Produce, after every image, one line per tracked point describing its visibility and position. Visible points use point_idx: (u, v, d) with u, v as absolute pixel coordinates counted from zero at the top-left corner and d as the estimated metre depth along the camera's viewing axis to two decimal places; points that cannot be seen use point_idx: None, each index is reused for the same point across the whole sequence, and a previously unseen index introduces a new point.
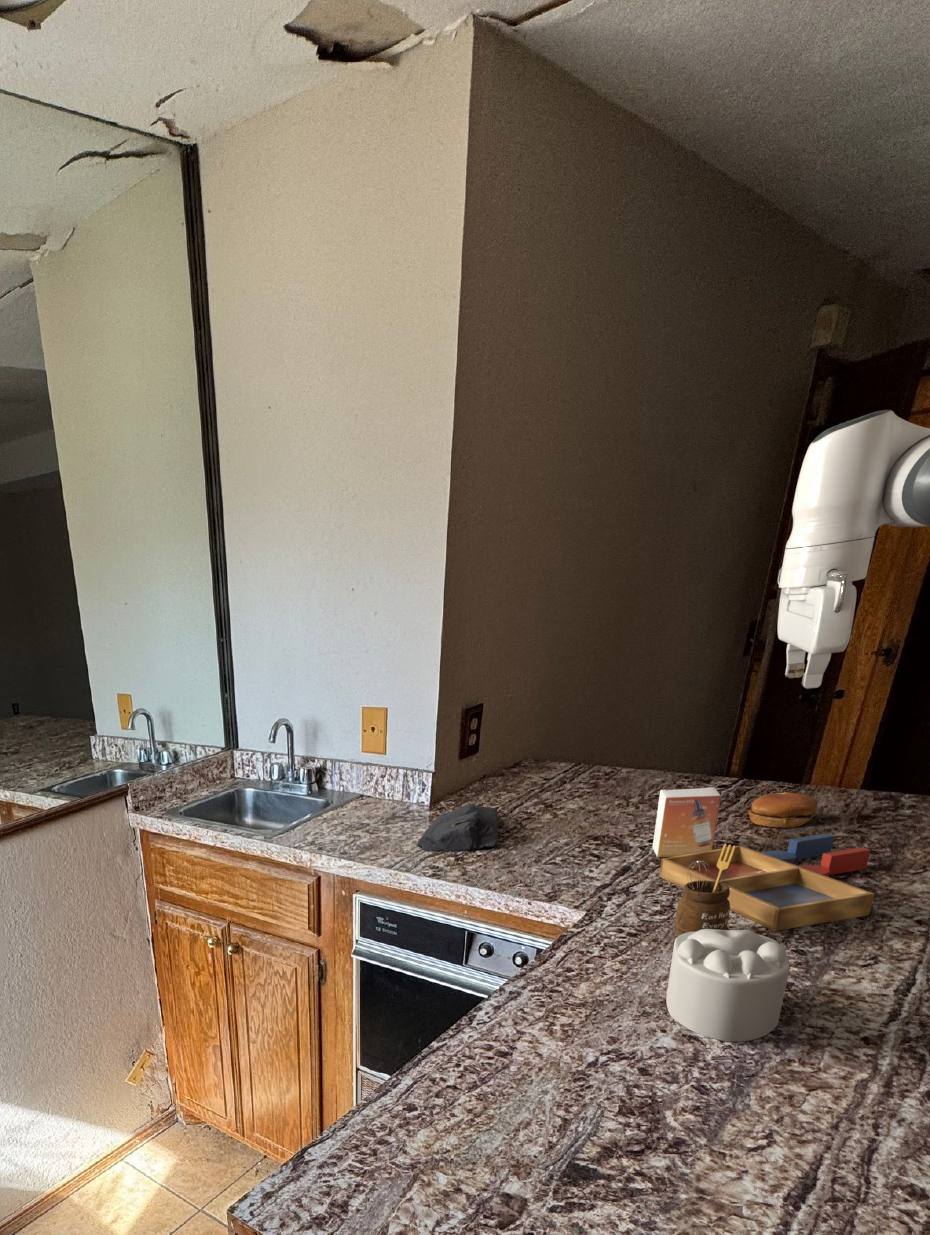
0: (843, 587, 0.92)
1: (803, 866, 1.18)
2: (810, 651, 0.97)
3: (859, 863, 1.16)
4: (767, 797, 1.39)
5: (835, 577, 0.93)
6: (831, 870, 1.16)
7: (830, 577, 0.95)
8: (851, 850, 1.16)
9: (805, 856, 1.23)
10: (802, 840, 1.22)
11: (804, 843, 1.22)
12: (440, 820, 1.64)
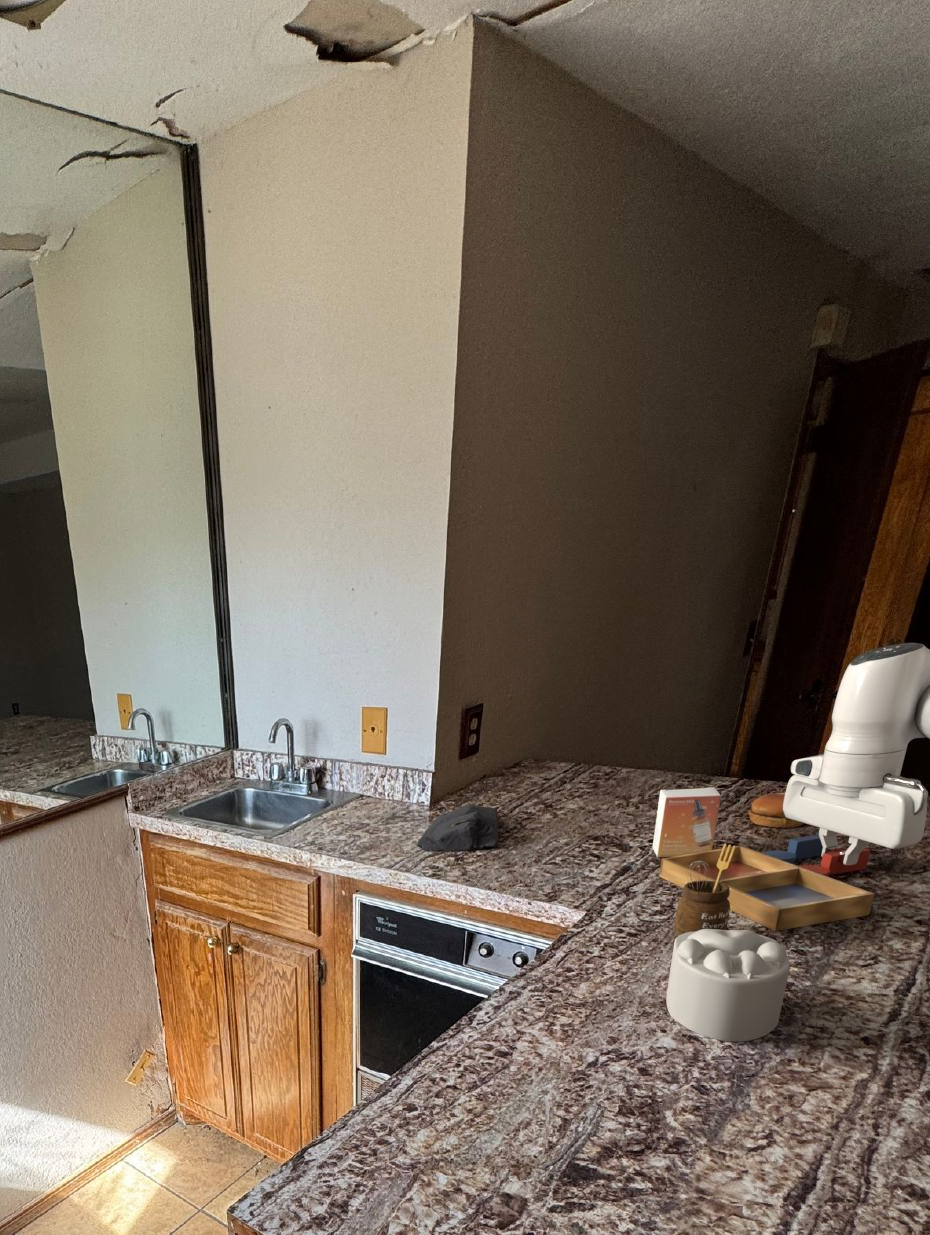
0: (925, 795, 1.02)
1: (803, 866, 1.18)
2: (890, 846, 1.06)
3: (859, 863, 1.16)
4: (767, 797, 1.39)
5: (909, 785, 1.04)
6: (831, 870, 1.16)
7: (894, 782, 1.06)
8: None
9: (805, 856, 1.23)
10: (802, 840, 1.22)
11: (804, 843, 1.22)
12: (440, 820, 1.64)
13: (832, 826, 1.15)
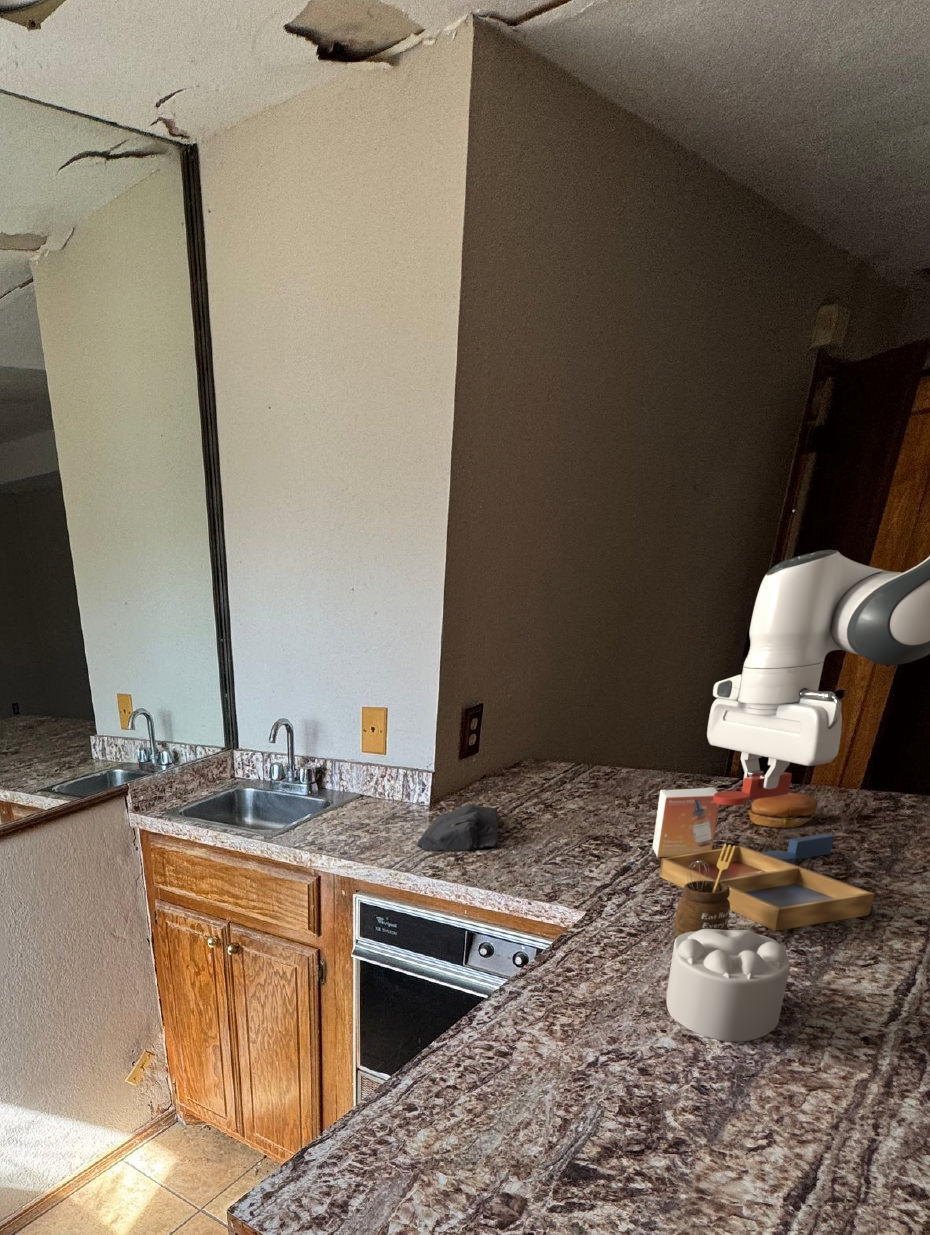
0: (838, 707, 0.99)
1: (724, 792, 1.15)
2: (805, 763, 1.03)
3: (781, 788, 1.13)
4: (767, 797, 1.39)
5: (823, 697, 1.00)
6: (752, 795, 1.13)
7: (809, 696, 1.02)
8: None
9: (805, 856, 1.23)
10: (802, 840, 1.22)
11: (804, 843, 1.22)
12: (440, 820, 1.64)
13: (752, 748, 1.11)
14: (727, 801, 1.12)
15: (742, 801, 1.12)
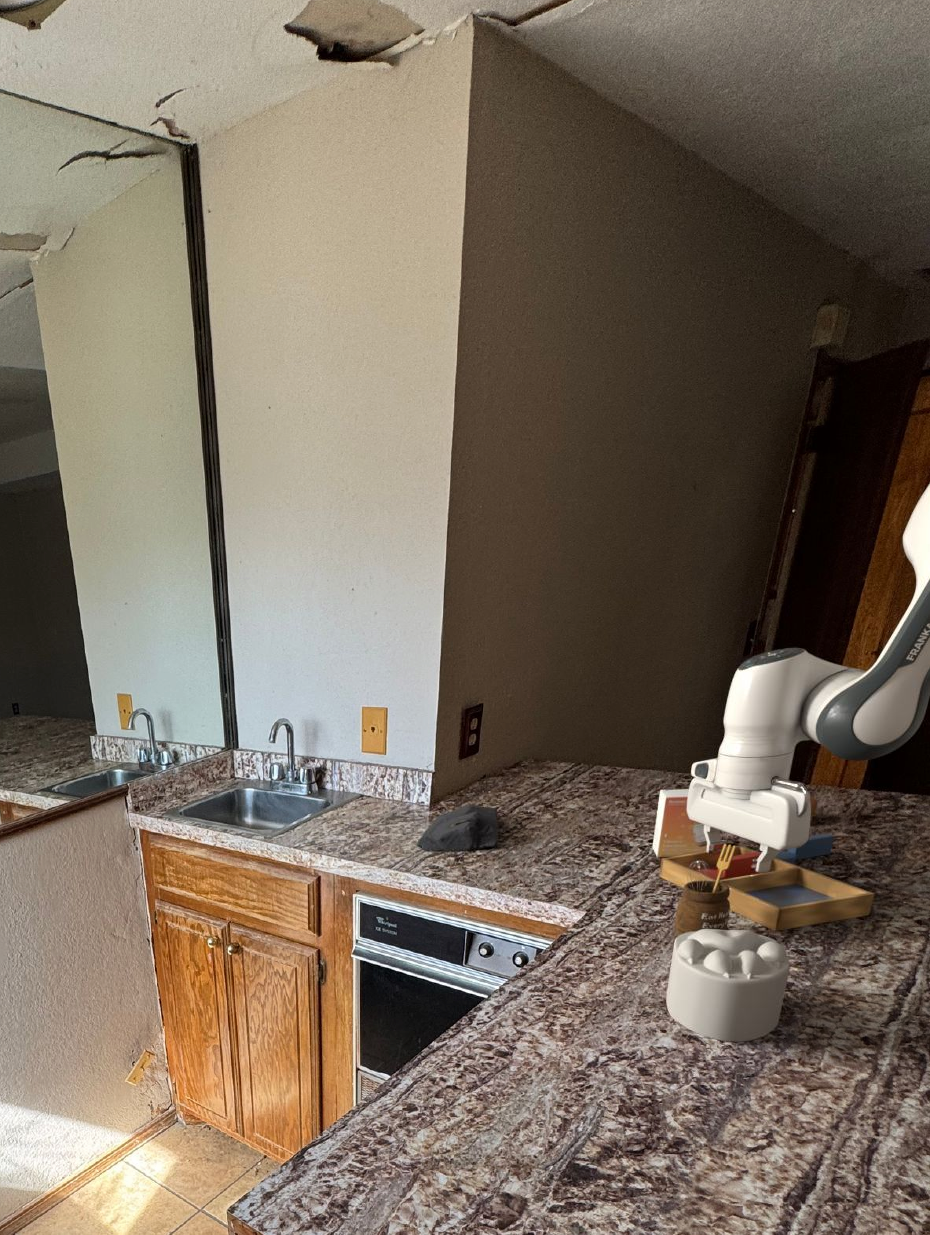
0: (807, 798, 1.04)
1: (701, 870, 1.20)
2: (777, 847, 1.08)
3: None
4: None
5: (793, 787, 1.05)
6: (727, 875, 1.18)
7: (780, 785, 1.07)
8: (746, 855, 1.18)
9: (805, 856, 1.23)
10: None
11: None
12: (440, 820, 1.64)
13: (728, 828, 1.16)
14: None
15: None
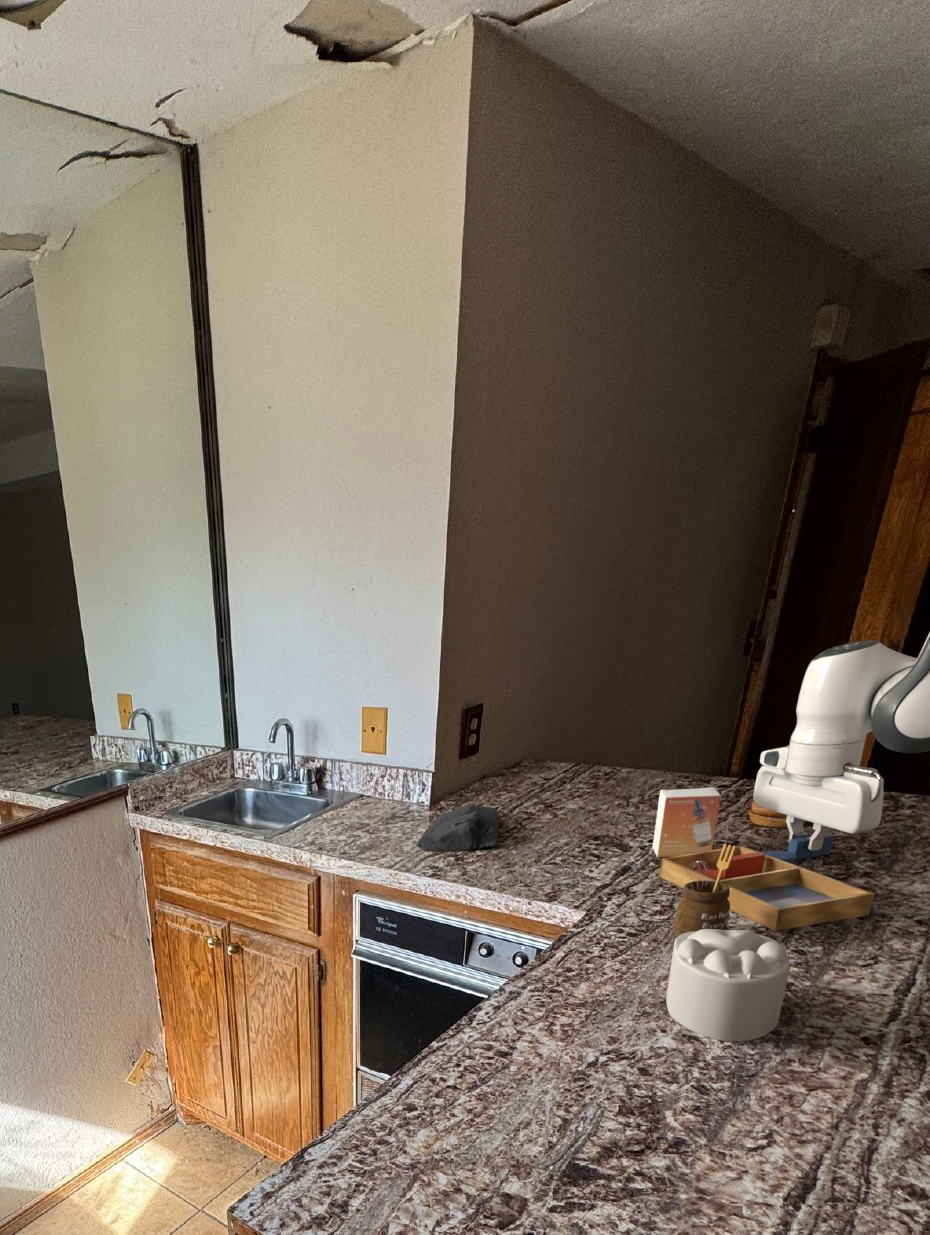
0: (881, 783, 1.09)
1: (701, 870, 1.20)
2: (849, 831, 1.13)
3: (755, 868, 1.18)
4: None
5: (867, 773, 1.10)
6: (727, 875, 1.18)
7: (853, 771, 1.12)
8: (746, 855, 1.18)
9: (805, 856, 1.23)
10: (802, 840, 1.22)
11: None
12: (440, 820, 1.64)
13: (798, 813, 1.21)
14: None
15: None
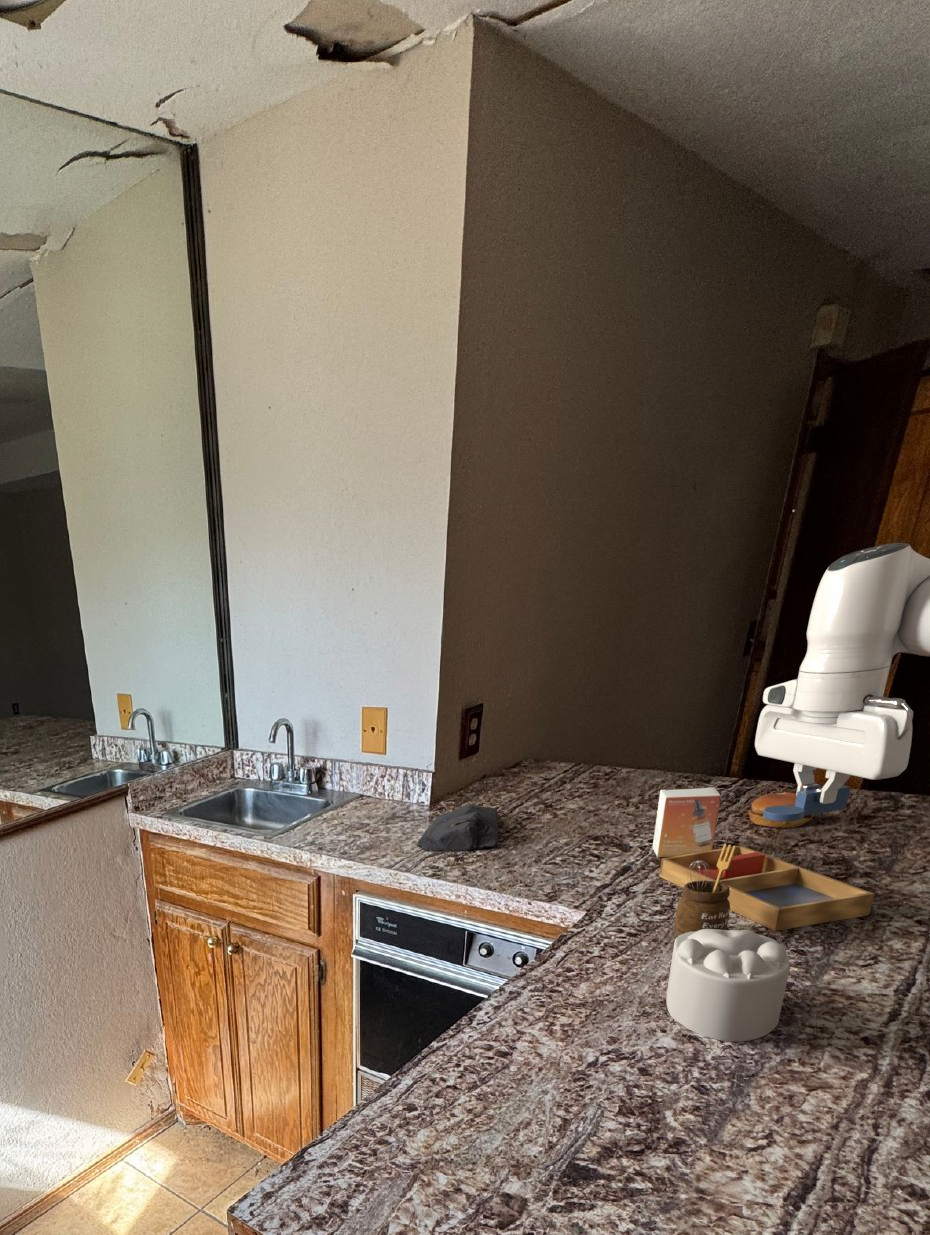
0: (910, 715, 0.90)
1: (701, 870, 1.20)
2: (870, 776, 0.94)
3: (755, 868, 1.18)
4: (767, 797, 1.39)
5: (892, 705, 0.91)
6: (727, 875, 1.18)
7: (875, 703, 0.93)
8: (746, 855, 1.18)
9: (816, 811, 1.04)
10: (812, 792, 1.03)
11: (815, 795, 1.03)
12: (440, 820, 1.64)
13: (807, 760, 1.02)
14: None
15: None
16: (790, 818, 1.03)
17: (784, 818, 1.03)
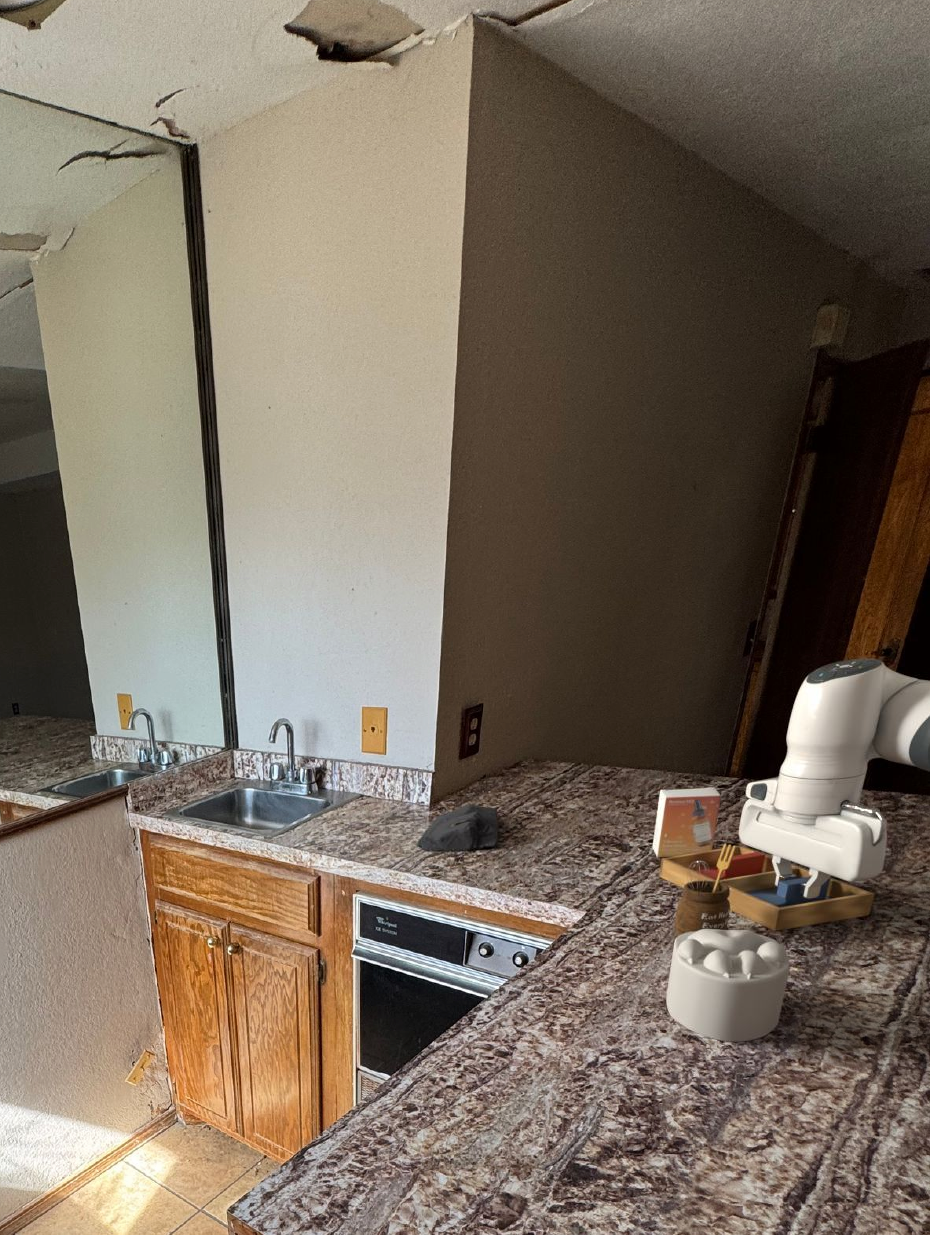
0: (884, 825, 0.94)
1: (701, 870, 1.20)
2: (847, 879, 0.98)
3: (755, 868, 1.18)
4: None
5: (867, 813, 0.95)
6: (727, 875, 1.18)
7: (852, 810, 0.97)
8: (746, 855, 1.18)
9: (797, 901, 1.08)
10: (793, 883, 1.07)
11: (796, 886, 1.07)
12: (440, 820, 1.64)
13: (788, 855, 1.06)
14: None
15: None
16: None
17: None
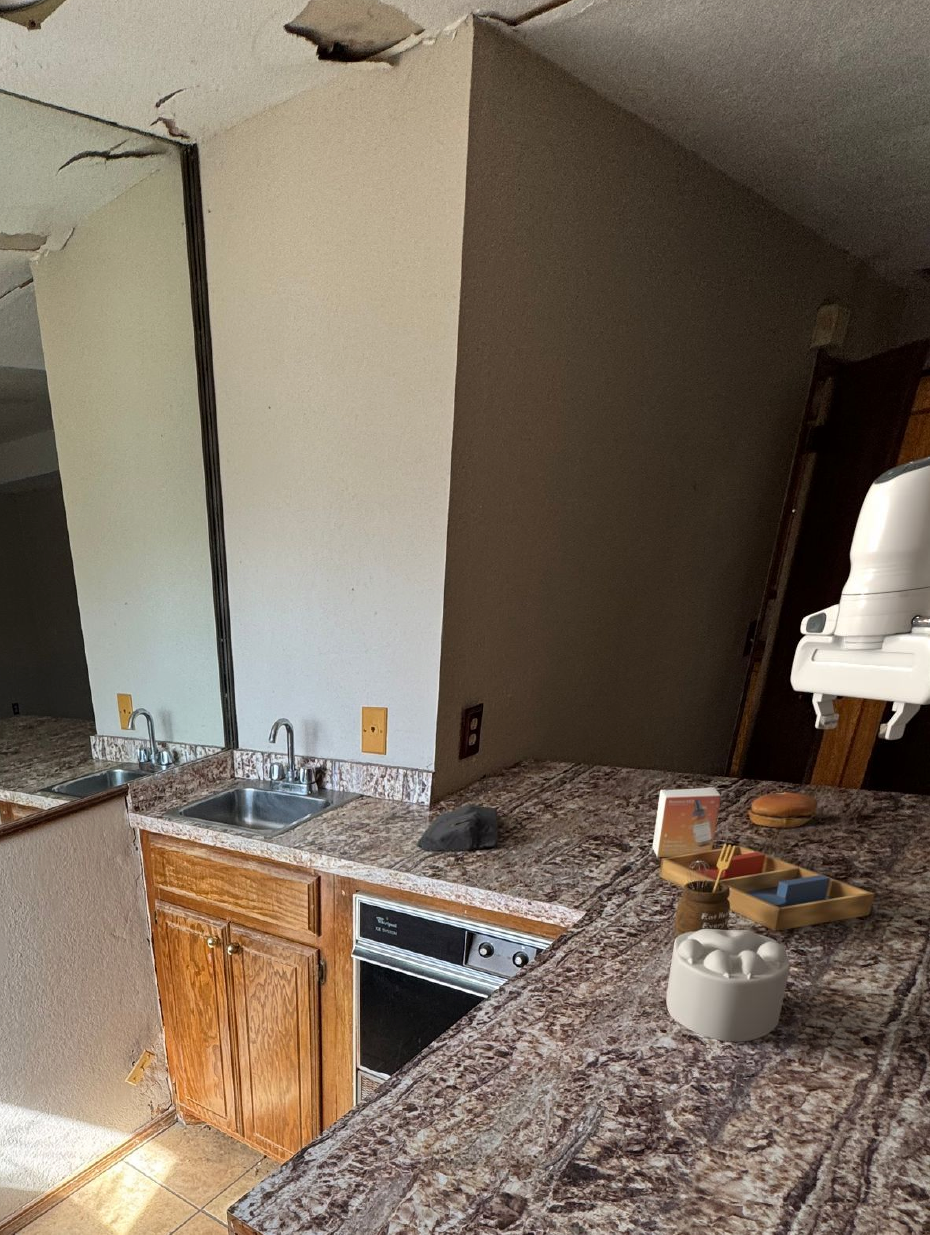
0: None
1: (701, 870, 1.20)
2: (919, 701, 0.89)
3: (755, 868, 1.18)
4: (767, 797, 1.39)
5: None
6: (727, 875, 1.18)
7: (925, 623, 0.89)
8: (746, 855, 1.18)
9: (797, 901, 1.08)
10: (793, 883, 1.07)
11: (796, 886, 1.07)
12: (440, 820, 1.64)
13: (849, 690, 0.98)
14: None
15: None
16: None
17: None
